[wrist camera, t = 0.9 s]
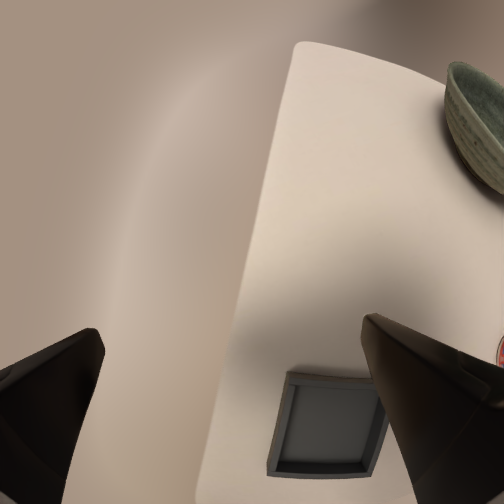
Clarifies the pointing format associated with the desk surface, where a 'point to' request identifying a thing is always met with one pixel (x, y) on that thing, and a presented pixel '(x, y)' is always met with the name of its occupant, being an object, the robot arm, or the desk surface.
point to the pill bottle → (501, 354)
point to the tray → (327, 428)
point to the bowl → (477, 122)
